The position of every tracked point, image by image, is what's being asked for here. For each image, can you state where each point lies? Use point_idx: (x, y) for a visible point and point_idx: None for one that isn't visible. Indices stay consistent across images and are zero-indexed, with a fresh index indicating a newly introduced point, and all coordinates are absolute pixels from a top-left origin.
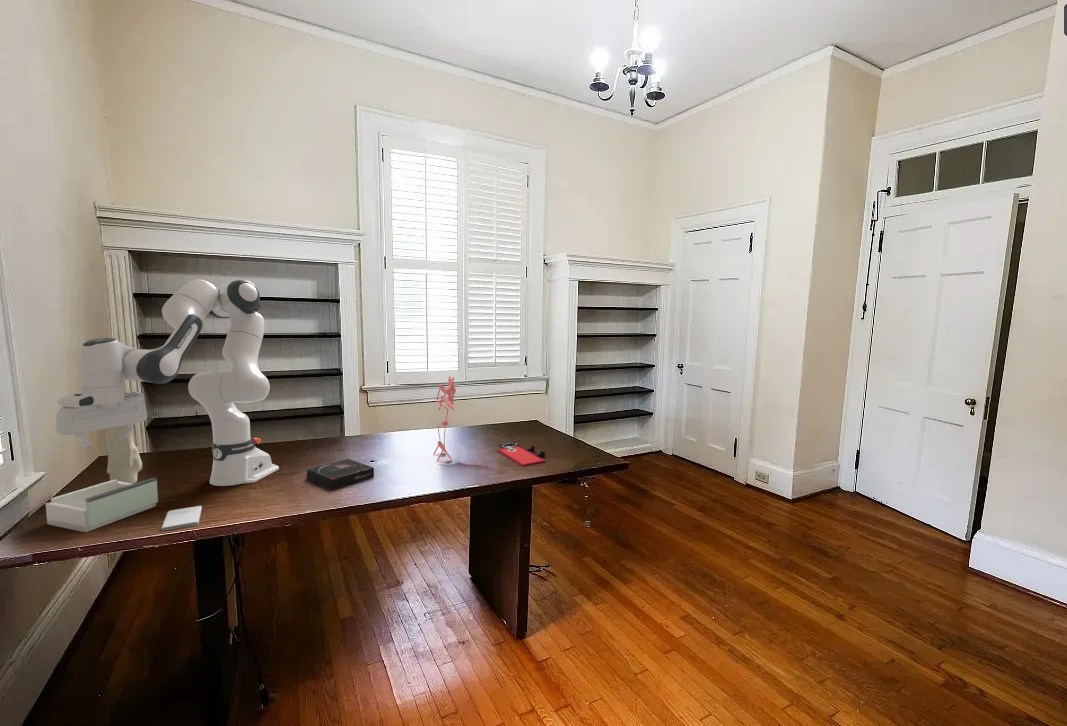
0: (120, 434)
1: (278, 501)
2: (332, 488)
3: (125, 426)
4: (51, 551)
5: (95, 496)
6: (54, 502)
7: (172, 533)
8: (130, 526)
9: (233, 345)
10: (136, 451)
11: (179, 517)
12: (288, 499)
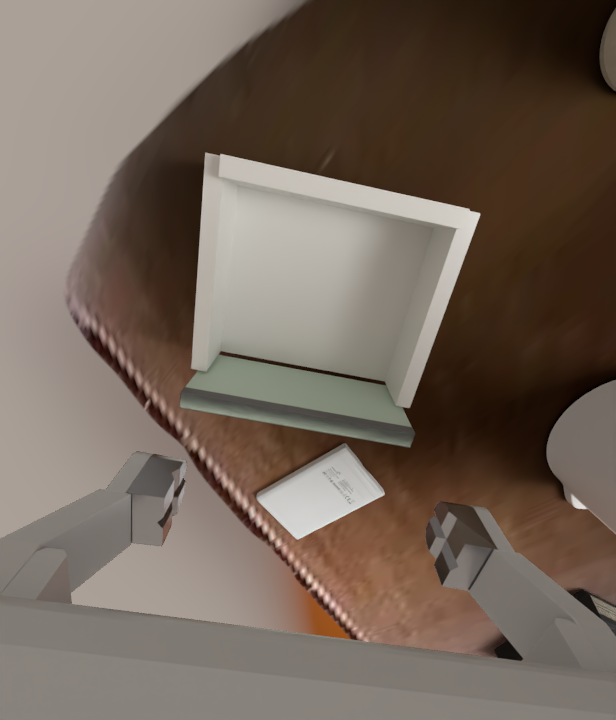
0: (458, 547)
1: (429, 598)
2: (496, 653)
3: (541, 656)
4: (116, 360)
5: (206, 404)
6: (224, 178)
7: (252, 517)
8: None
9: None
10: None
11: (311, 497)
12: (440, 608)
